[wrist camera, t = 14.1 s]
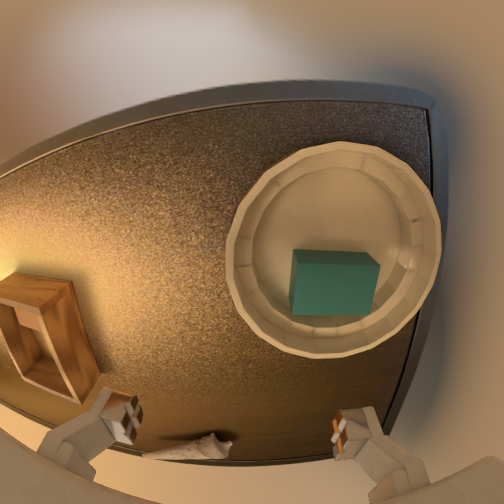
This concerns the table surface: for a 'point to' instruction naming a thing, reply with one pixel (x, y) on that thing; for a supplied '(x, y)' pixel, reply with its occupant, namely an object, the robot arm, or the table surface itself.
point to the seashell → (194, 450)
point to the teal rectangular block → (332, 282)
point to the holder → (48, 336)
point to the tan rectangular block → (28, 319)
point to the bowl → (333, 244)
